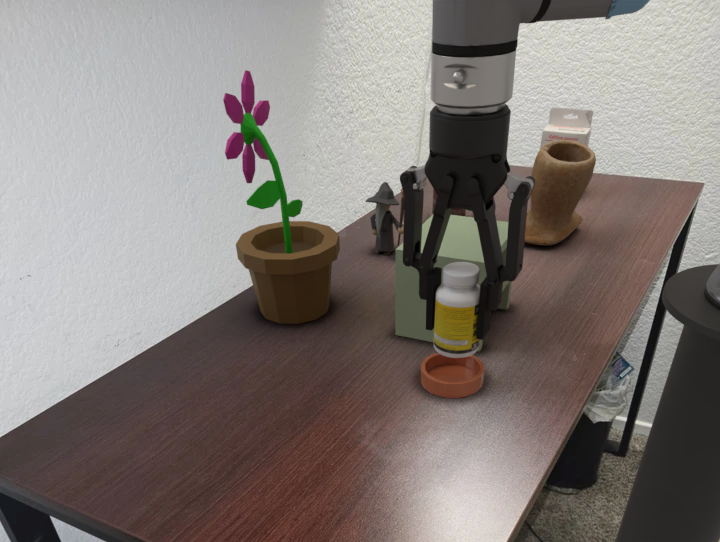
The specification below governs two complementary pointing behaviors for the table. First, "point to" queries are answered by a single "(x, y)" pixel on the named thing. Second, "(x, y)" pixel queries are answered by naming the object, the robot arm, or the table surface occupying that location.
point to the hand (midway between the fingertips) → (457, 328)
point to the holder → (452, 375)
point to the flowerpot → (279, 228)
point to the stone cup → (558, 190)
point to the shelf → (455, 247)
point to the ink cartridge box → (568, 126)
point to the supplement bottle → (457, 311)
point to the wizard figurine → (385, 219)
